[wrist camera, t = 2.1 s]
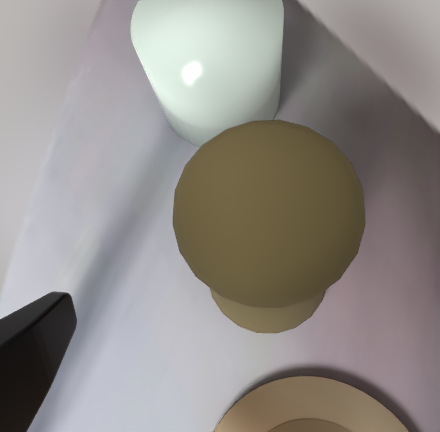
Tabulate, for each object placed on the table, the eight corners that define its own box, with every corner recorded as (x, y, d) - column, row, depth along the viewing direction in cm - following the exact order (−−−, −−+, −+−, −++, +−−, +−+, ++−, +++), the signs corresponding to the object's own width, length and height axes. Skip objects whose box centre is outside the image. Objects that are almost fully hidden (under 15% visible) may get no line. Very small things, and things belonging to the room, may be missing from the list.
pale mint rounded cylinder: (222, 172, 22) (206, 111, 16) (140, 104, 24) (100, 29, 18) (304, 89, 23) (317, 5, 17) (219, 31, 25) (204, -62, 19)
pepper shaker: (291, 195, 21) (316, 46, 10) (351, 299, 19) (458, 245, 8) (189, 245, 20) (108, 143, 10) (238, 355, 18) (201, 372, 8)
